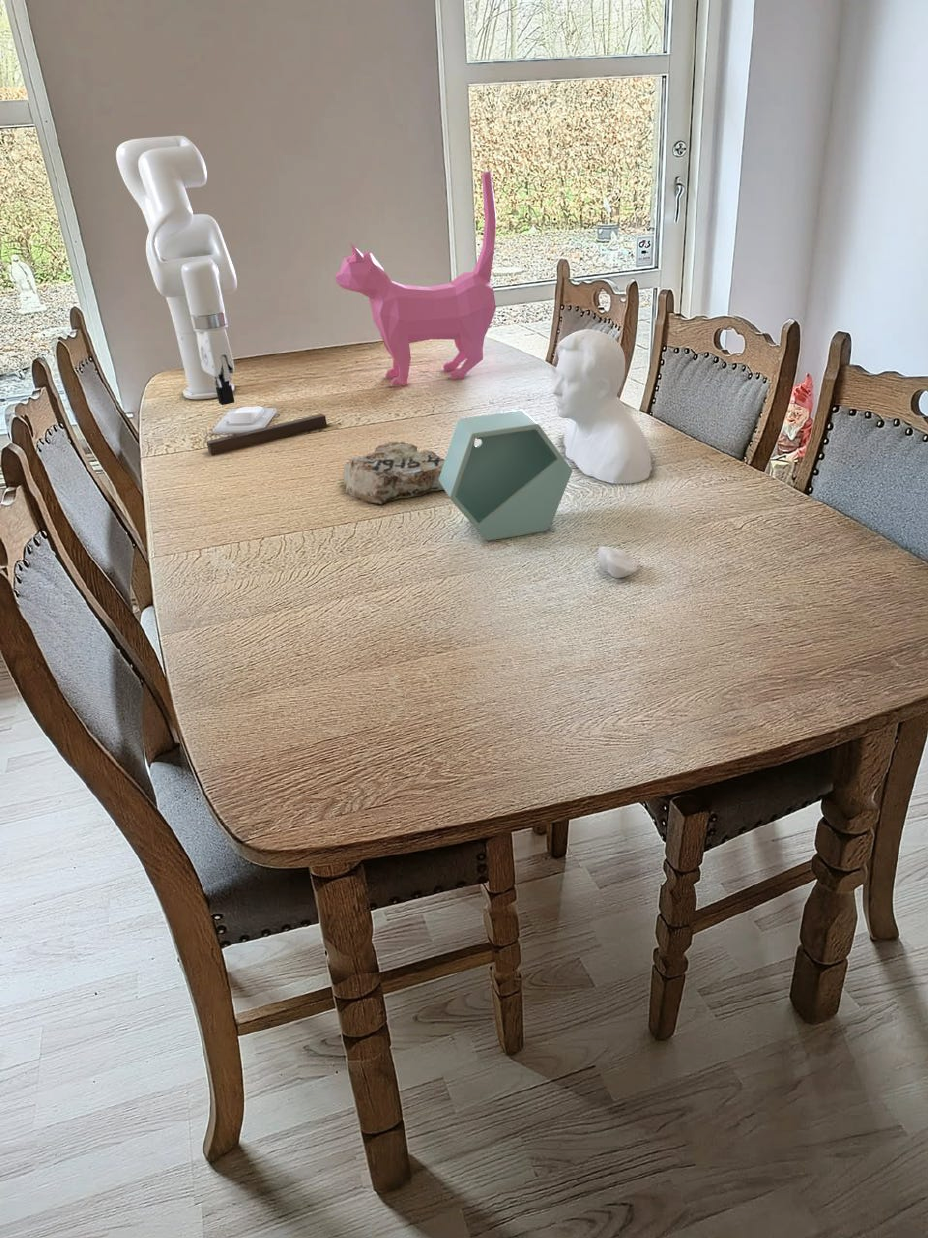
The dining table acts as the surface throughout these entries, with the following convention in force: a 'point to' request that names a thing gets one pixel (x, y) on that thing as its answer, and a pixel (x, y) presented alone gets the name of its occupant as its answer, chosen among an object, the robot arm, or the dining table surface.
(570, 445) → the bust
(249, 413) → the light switch
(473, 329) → the cat
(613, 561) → the dumpling
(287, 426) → the back rail
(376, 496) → the stone
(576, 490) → the dining table surface
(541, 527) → the planter
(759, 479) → the dining table surface
